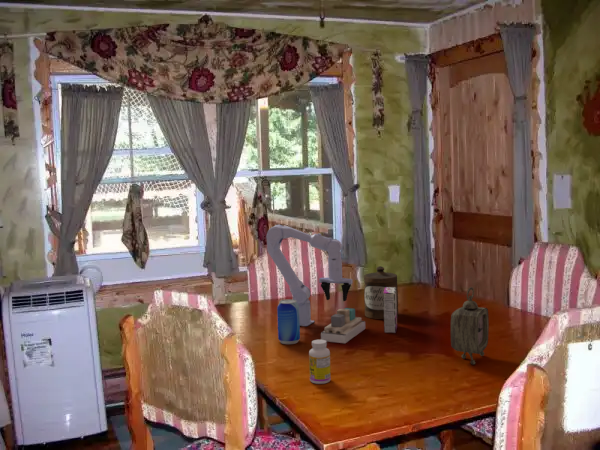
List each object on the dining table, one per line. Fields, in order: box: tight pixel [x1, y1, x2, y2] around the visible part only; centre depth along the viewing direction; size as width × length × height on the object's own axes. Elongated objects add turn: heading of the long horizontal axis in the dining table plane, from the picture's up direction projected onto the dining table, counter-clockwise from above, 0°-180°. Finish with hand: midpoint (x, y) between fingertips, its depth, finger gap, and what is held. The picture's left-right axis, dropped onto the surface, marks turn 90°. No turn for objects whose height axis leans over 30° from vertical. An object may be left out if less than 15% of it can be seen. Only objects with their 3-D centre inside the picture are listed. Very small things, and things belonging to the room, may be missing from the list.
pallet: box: [324, 308, 362, 334], centre depth 249 cm, size 8×19×7 cm, turn 154°
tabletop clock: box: [450, 287, 490, 366], centre depth 213 cm, size 14×9×25 cm, turn 148°
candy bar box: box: [383, 287, 398, 334], centre depth 254 cm, size 11×5×16 cm, turn 168°
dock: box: [320, 320, 366, 344], centre depth 249 cm, size 10×22×3 cm, turn 154°
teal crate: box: [344, 307, 356, 321], centre depth 253 cm, size 4×4×4 cm
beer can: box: [276, 298, 301, 345], centre depth 241 cm, size 8×8×16 cm
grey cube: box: [330, 313, 345, 327], centre depth 244 cm, size 4×4×4 cm
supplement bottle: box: [308, 339, 332, 385], centre depth 197 cm, size 7×7×13 cm
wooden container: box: [363, 266, 399, 320], centre depth 277 cm, size 15×15×22 cm
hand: (336, 300), depth 264 cm, fingers open, 7 cm apart
